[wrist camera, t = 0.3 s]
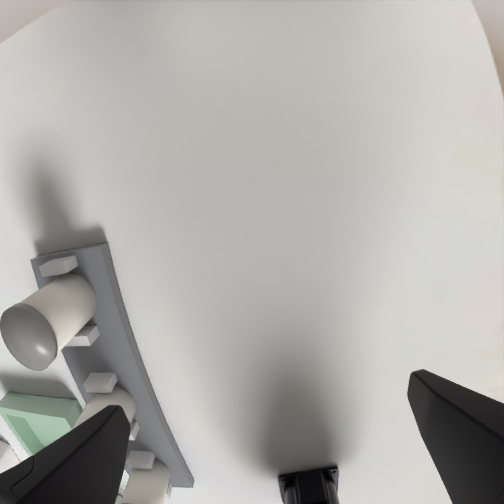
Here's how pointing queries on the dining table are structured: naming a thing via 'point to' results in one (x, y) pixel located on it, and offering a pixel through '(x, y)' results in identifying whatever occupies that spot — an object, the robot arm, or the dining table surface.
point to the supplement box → (118, 499)
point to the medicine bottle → (7, 457)
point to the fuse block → (97, 357)
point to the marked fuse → (105, 399)
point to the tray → (38, 418)
